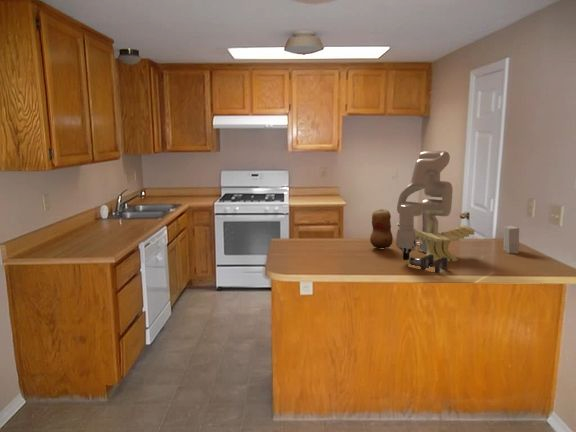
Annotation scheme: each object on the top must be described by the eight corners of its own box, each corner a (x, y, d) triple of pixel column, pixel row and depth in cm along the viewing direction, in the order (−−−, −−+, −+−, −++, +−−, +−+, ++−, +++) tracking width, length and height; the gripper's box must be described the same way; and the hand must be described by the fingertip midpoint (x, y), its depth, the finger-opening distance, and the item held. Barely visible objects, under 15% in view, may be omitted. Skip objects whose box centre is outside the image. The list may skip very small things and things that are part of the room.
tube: (409, 265, 247) (409, 257, 246) (413, 263, 250) (413, 256, 249) (425, 269, 240) (425, 261, 239) (429, 267, 243) (430, 259, 242)
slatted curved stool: (460, 253, 268) (461, 223, 265) (473, 260, 253) (474, 229, 249) (410, 256, 266) (411, 226, 263) (420, 264, 251) (420, 232, 247)
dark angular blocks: (434, 272, 233) (434, 258, 232) (443, 268, 240) (443, 254, 238) (438, 273, 232) (438, 259, 231) (447, 269, 238) (447, 255, 237)
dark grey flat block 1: (420, 269, 239) (420, 258, 238) (429, 265, 245) (429, 254, 244) (424, 270, 238) (424, 258, 237) (433, 266, 244) (433, 254, 243)
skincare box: (518, 253, 263) (520, 228, 260) (508, 253, 263) (509, 228, 260) (512, 249, 271) (514, 225, 268) (502, 249, 272) (503, 225, 269)
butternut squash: (368, 251, 281) (367, 211, 276) (372, 245, 293) (372, 207, 288) (390, 252, 276) (390, 212, 271) (394, 246, 288) (394, 208, 283)
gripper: (390, 226, 250) (390, 258, 253) (414, 230, 239) (414, 263, 242) (398, 224, 255) (398, 255, 258) (422, 227, 244) (421, 260, 247)
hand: (406, 259), depth 250 cm, fingers closed
